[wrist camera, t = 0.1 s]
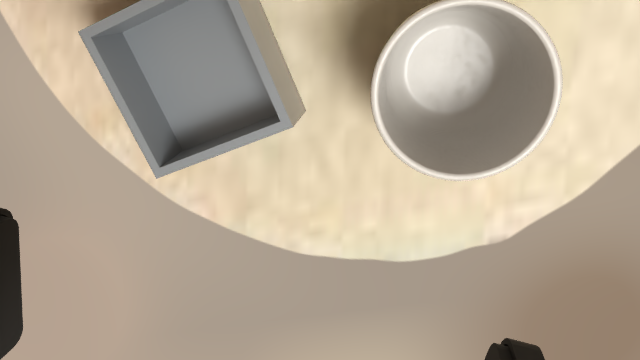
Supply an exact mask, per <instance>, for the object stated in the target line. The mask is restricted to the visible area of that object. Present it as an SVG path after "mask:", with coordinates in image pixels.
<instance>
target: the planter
mask: <svg viewBox="0 0 640 360" xmlns="http://www.w3.org/2000/svg"><path fill="white" fill-rule="evenodd" d="M562 87H563V76H562V68H561V63H560V59H559V55H558V53H557V50H556V47H555V45H554V43H553V41H552V39H551V38H550V36H549V35H548V33H547V32H546V30H545V29H544V28H543V27H542V26H541V24H540V23H539V22H538V21H537V20H536V19H534V18H533V17H532V16H531V15H530V14H528V13H527V12H526V11H524V10H523V9H521V8H519V7H517V6H515V5H514V4H511V3H509V2H506V1H504V0H442V1H438V2H435V3H433V4H430V5H428V6H426V7H424V8H422V9H420V10H418V11H417V12H415V13H414V14H412V15H411V16H410V17H408V18H407V19H406V20H405V21H404V22H403V23H402V24H401V25H400V26H399V27H398V28H397V29H396V30H395V32H394V33H393V34H392V36H391V37H390V39H389V40H388V42H387V43H386V45H385V46H384V48H383V50H382V52H381V53H380V55H379V58H378V60H377V63H376V65H375V69H374V72H373V77H372V82H371V107H372V113H373V117H374V121H375V124H376V126H377V129H378V131H379V133H380V135H381V137H382V139H383V140H384V142H385V143H386V145H387V146H388V147H389V149H390V150H391V151H392V152H393V153H394V154H395V155H396V156H397V157H398V158H399V159H400V160H401V161H402V162H404V163H405V164H406V165H408V166H409V167H411V168H413V169H414V170H416V171H418V172H420V173H423V174H425V175H428V176H431V177H434V178H438V179H443V180H450V181H469V180H477V179H482V178H486V177H489V176H493V175H495V174H498V173H500V172H503V171H505V170H507V169H509V168H511V167H512V166H514V165H515V164H517V163H519V162H520V161H521V160H523V159H524V158H525V157H526V156H528V155H529V154H530V153H531V152H532V151H533V150H534V149H535V148H536V147H537V146H538V145H539V143H540V142H541V141H542V140H543V138H544V137H545V136H546V134H547V133H548V131H549V129H550V127H551V126H552V124H553V121H554V119H555V117H556V115H557V112H558V109H559V105H560V101H561V96H562Z"/></svg>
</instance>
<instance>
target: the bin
mask: <svg viewBox="0 0 640 360" xmlns="http://www.w3.org/2000/svg"><path fill="white" fill-rule="evenodd" d="M78 33H79V35H80V36H81V38H82V40H83V42H84V44H85V46H86V48H87V50H88V51H89V53H90V55H91V57H92V59H93V61H94V63H95V64H96V66H97V68H98V70H99V72H100V74H101V76H102V78H103V79H104V81H105V83H106V85H107V87H108V89H109V91H110V93H111V94H112V96H113V98H114V100H115V102H116V104H117V106H118V108H119V109H120V111H121V113H122V115H123V117H124V119H125V121H126V123H127V124H128V126H129V128H130V130H131V132H132V134H133V136H134V138H135V139H136V141H137V143H138V145H139V147H140V149H141V151H142V152H143V154H144V156H145V158H146V160H147V162H148V164H149V166H150V167H151V169H152V171H153V173H154V175H155V177H156V179H157V178H159V177H162V176H165V175H167V174H170V173H173V172H175V171H178V170H181V169H183V168H186V167H189V166H191V165H194V164H197V163H199V162H202V161H204V160H207V159H210V158H212V157H215V156H218V155H220V154H223V153H226V152H228V151H231V150H234V149H236V148H239V147H242V146H244V145H247V144H250V143H252V142H255V141H258V140H260V139H263V138H265V137H268V136H271V135H273V134H276V133H279V132H281V131H284V130H287V129H289V128H292V127H294V125H295V124H296V123H297V121H298V120H299V119H300V118H301V116H302V115H303V114H304V113H305V111H306V110H305V107H304V105H303V102H302V100H301V98H300V95H299V93H298V91H297V88H296V86H295V83H294V81H293V79H292V76H291V74H290V72H289V69H288V67H287V64H286V62H285V60H284V57H283V55H282V53H281V50H280V48H279V45H278V43H277V41H276V38H275V36H274V34H273V31H272V29H271V27H270V24H269V22H268V19H267V17H266V15H265V12H264V10H263V8H262V5H261V3H260V0H141V1H139V2H137V3H135V4H133V5H131V6H129V7H127V8H125V9H123V10H121V11H119V12H117V13H115V14H113V15H111V16H109V17H107V18H105V19H103V20H101V21H99V22H97V23H95V24H93V25H91V26H89V27H87V28H85V29H83V30H81V31H79V32H78Z"/></svg>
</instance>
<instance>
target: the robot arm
mask: <svg viewBox="0 0 640 360" xmlns="http://www.w3.org/2000/svg"><path fill="white" fill-rule="evenodd" d="M19 249H20V248H19V227H18V223H17V221H16V220H14V219H13V216H12V214H11V212H10V211H8V210H7V209H3V208H0V359H1V358H3V356H5V355H6V354H7V353H8V352H9V351H10V350H11V349H12V348H13V347H14V346H15V345H16V344H17V342H18V341H19V339H20V337H21V334H22V331H23V318H22V297H21V296H22V294H21V271H20V250H19ZM485 360H545V359H544V356H543V354H542V352H541V350H540V348H539V347H538V346H536V345H532V344H528V343H524V342H521V341H517V340H513V339H509V338H506V339H504V340H503V341H502V342H501V344H496V343H493V344H492V345H491V346H490V348H489V350H488V353H487V355H486V357H485Z"/></svg>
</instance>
